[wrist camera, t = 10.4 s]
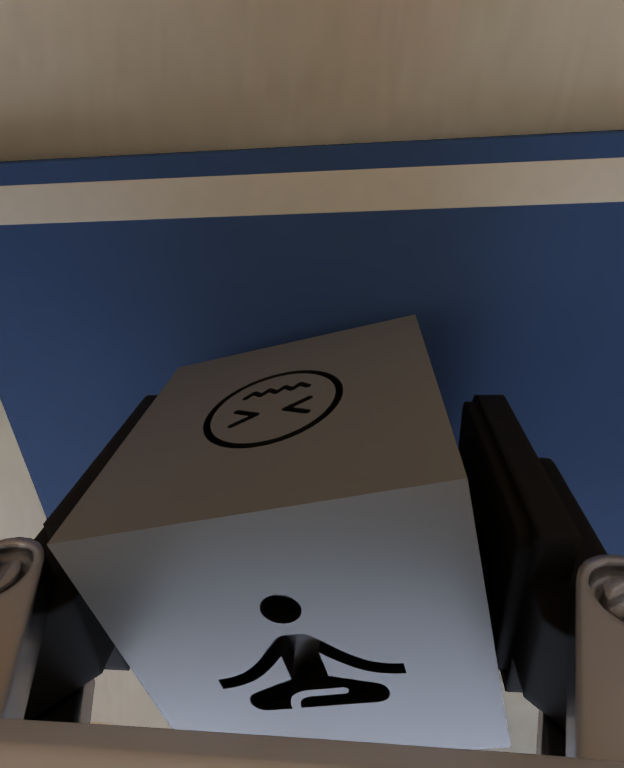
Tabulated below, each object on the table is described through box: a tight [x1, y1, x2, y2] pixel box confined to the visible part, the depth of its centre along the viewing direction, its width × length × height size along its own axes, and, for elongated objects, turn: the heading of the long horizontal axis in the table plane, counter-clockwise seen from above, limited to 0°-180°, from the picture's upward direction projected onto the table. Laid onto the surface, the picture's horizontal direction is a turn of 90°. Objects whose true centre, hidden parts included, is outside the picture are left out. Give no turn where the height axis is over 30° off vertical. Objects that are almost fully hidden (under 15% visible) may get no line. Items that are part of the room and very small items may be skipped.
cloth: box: [0, 130, 624, 556], centre depth 12 cm, size 16×12×1 cm
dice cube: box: [47, 315, 511, 750], centre depth 9 cm, size 5×5×5 cm
